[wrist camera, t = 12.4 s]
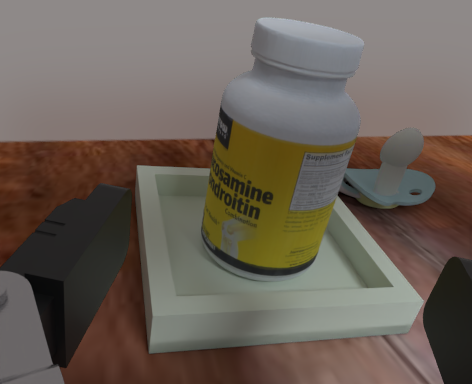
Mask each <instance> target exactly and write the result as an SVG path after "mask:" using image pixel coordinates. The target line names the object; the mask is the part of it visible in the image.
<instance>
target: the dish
mask: <svg viewBox="0 0 472 384" xmlns="http://www.w3.org/2000/svg"><path fill="white" fill-rule="evenodd" d="M209 174H210V169H208V168H185V167H161V166H137V171H136V186H135V201H136V213H137V224H138V236H139V247H140V259H141V270H142V282H143V293H144V305H145V316H146V328H147V339H148V351H149V354H151V353H164V352H176V351H189V350H201V349H214V348H227V347H239V346H252V345H264V344H277V343H289V342H302V341H315V340H327V339H340V338H352V337H365V336H378V335H390V334H403V333H408V332H409V330H410V328H411V326H412V324H413V322H414V320H415V318H416V316H417V314H418V312H419V310H420V308H421V306H422V304H423V302H424V301H423V299H422V298H421V297H420V296H419V295H418V293H417V292H416V291H415V290H414V288H413V287H412V286H411V285H410V284H409V282H408V281H407V280H406V279H405V277H404V276H403V275H402V274H401V273H400V271H399V270H398V269H397V268H396V266H395V265H394V264H393V263H392V262H391V260H390V259H389V258H388V257H387V255H386V254H385V253H384V252H383V251H382V249H381V248H380V247H379V246H378V244H377V243H376V242H375V241H374V240H373V238H372V237H371V236H370V235H369V233H368V232H367V231H366V230H365V229H364V227H363V226H362V225H361V224H360V222H359V221H358V220H357V219H356V218H355V216H354V215H353V214H352V213H351V211H350V210H349V209H348V208H347V207H346V205H345V204H344V203H343V202H342V200H341V199H340V198H339V197H338V196H337V198H336V201H335V204H334V207H333V210H332V212H331V215H330V218H329V221H328V224H327V227H326V230H325V233H324V236H323V240H322V242H321V245H320V248H319V251H318V254H317V256H316V259H315V261H314V263H313V264H312V265H311V267H310V268H309V269H308V270H307V271H306V272H304V273H303V274H301V275H299V276H297V277H295V278H292V279H289V280H284V281H277V282H266V281H257V280H252V279H248V278H245V277H242V276H239V275H237V274H234V273H232V272H230V271H228V270H227V269H225V268H224V267H222V266H221V265H219V264H218V263H217V262H216V261H215V260H214V259H213V258H212V257H211V256H210V255H209V254H208V252H207V251H206V249H205V247H204V245H203V242H202V238H201V226H202V218H203V212H204V207H205V200H206V194H207V188H208V181H209Z"/></svg>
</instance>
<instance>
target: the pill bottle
mask: <svg viewBox="0 0 472 384" xmlns="http://www.w3.org/2000/svg"><path fill="white" fill-rule="evenodd" d="M251 47H252V50H251V53H252V55H253V56H254V57H255V58H256V59H255V62H254V66H253V69H252V70H251V71H248V72H245V73H243V74H241V75H239V76H238V77H236V78H234V80H232V81H231V82H230V83H229V85H227V87H226V89H225V91H224V93H223V97H222V101H221V107H220V113H219V119H218V126H217V132H216V138H215V143H214V149H213V156H212V162H211V168H210V174H209V181H208V188H207V194H206V200H205V207H204V212H203V218H202V226H201V238H202V242H203V245H204V247H205V249H206V251H207V252H208V254H209V255H210V256H211V257H212V258H213V259H214V260H215V261H216V262H217V263H218V264H219V265H221V266H222V267H224V268H225V269H227V270H228V271H230V272H232V273H234V274H237V275H239V276H242V277H245V278H248V279H252V280H257V281H266V282H277V281H284V280H289V279H292V278H295V277H297V276H299V275H301V274H303V273H304V272H306V271H307V270H308V269H309V268H310V267H311V265H312V264H313V263H314V261H315V259H316V256H317V254H318V251H319V248H320V245H321V242H322V240H323V236H324V233H325V230H326V227H327V224H328V221H329V218H330V215H331V212H332V210H333V207H334V204H335V201H336V198H337V195H338V192H339V189H340V186H341V183H342V180H343V177H344V174H345V171H346V168H347V165H348V162H349V159H350V156H351V153H352V150H353V148H354V145H355V142H356V138H357V135H358V132H359V128H360V121H361V120H360V114H359V111H358V108H357V106H356V105H355V103H354V101H353V100H352V99H351V98H350V96H349V95H348V94H347V93H346V92H345V91H344V88H345V85H346V82H347V78H350V77H352V76H354V75H355V71H356V70H357V69H358V66H359V62H360V59H361V55H362V51H363V48H364V41H363V40H362V39H360V38H359V37H357V36H354V35H352V34H349V33H347V32H343V31H340V30H337V29H334V28H330V27H325V26H321V25H316V24H312V23H306V22H302V21H295V20H289V19H280V18H260V19H258V20H257V21H256V24H255V30H254V34H253V39H252V43H251Z"/></svg>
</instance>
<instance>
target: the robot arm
mask: <svg viewBox="0 0 472 384" xmlns="http://www.w3.org/2000/svg"><path fill="white" fill-rule="evenodd" d="M131 205H132V192H131V190H130V189H127V188H122V187H117V186H113V185H108V184H103V183H100V184H99V185H98V186H97V187H96V188H95V189H94V190H93V192H92V193H91V194H90V195H89V196H88V198H87V199H86V200H82V199H77V198H74V199H72V200H70V201H68V202H66V203H64V204H62V205H60V206H58V207H56V208H55V209H54V210H53V211H52V213H51V214H50V215H49V216H48V217H47V218H46V219H45V222H42V223H41V224H40V225H39V227H38V228H37V229H36V230H35V233H32V234H31V235H30V236H29V237H28V238H27V240H26V241H25V242H24V243H23V244H22V245H21V246H20V247H19V248H18V249H17V250H16V251H15V252H14V254H13V255H12V256H11V257H10V258H9V259H8V260H7V261H6V262H5V263H4V264H3V265H2V266H1V268H0V384H64V380H63V377H62V374H61V371H60V368H59V367H63V368H67V366H68V364H69V362H70V360H71V358H72V357H73V355H74V353H75V351H76V349H77V347H78V345H79V344H80V342H81V340H82V338H83V336H84V334H85V333H86V331H87V329H88V327H89V325H90V323H91V322H92V320H93V318H94V316H95V314H96V312H97V311H98V309H99V307H100V305H101V303H102V301H103V299H104V298H105V296H106V294H107V292H108V290H109V288H110V287H111V285H112V283H113V281H114V279H115V277H116V276H117V274H118V272H119V270H120V268H121V266H122V264H123V262H124V260H125V257H126V254H127V250H128V245H129V236H130V220H131ZM423 324H424V328H425V331H426V334H427V337H428V340H429V343H430V345H431V348H432V351H433V354H434V357H435V359H436V362H437V365H438V368H439V371H440V374H441V376H442V379H443V382H444V384H472V260H469V259H464V258H459V257H452V258H450V259H449V260H448V262H447V263H446V265H445V267H444V269H443V271H442V273H441V274H440V276H439V278H438V280H437V282H436V284H435V286H434V288H433V290H432V292H431V294H430V296H429V298H428V300H427V302H426V304H425V307H424V313H423Z"/></svg>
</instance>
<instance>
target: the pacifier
mask: <svg viewBox="0 0 472 384" xmlns="http://www.w3.org/2000/svg"><path fill="white" fill-rule="evenodd" d="M423 145H424V139H423V135H422V134H421V132H420V131H419V130H418V129H416V128H406V129H403V130H401V131H399V132H397V133H396V134H394V135H393V136H391V137H390V138H389V139H388V140H387V141H386V143H385V144H384V145H383V147H382V149H381V152H380V159H381V161H382V165H381V167H380V169H348V168H346V171H345V174H344V177H343V180H342V183H341V186H340V189H339V191H340V192H342V193H344V194H346V195H348V196H351V197H355V198H356V199H357V200H358V201H359V202H361V203H362V204H364V205H367V206H370V207H375V208H383V209H388V208H395V207H397V206H398V205H405V206H410V205H417V204H421V203H423V202H425V201H427V200H428V199H429V198H430V197H431V196H432V194H433V192H434V190H435V182H434V180H433V179H432V178H431V177H430V176H429V175H427V174H425V173H423V172H419V171H416V170H410V169H406V168H407V166H408V164H410V163H412V162H413V161H414V160H415V159H416V158H417V157H418V156H419V155H420V153H421V151H422V149H423ZM347 181H348V182H349V183H350V184H351V185H352V186H353V187H354V188H353V187H350V186H348V185H347V184H346V183H345V182H347ZM412 192H418V193H420V195H411V194H409V193H412Z"/></svg>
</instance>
